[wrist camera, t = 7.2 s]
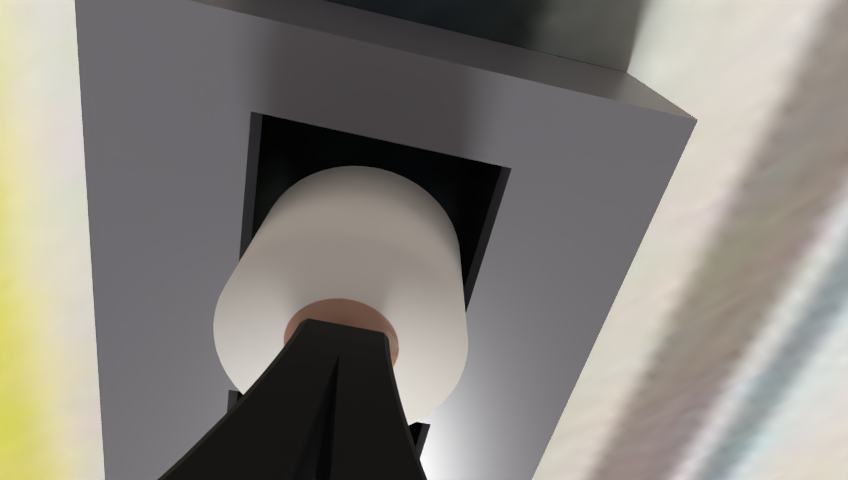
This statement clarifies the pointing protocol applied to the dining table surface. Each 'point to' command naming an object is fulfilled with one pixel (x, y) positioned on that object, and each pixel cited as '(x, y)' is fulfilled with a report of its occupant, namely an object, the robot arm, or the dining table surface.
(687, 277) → the dining table surface
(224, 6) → the mount
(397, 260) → the button
